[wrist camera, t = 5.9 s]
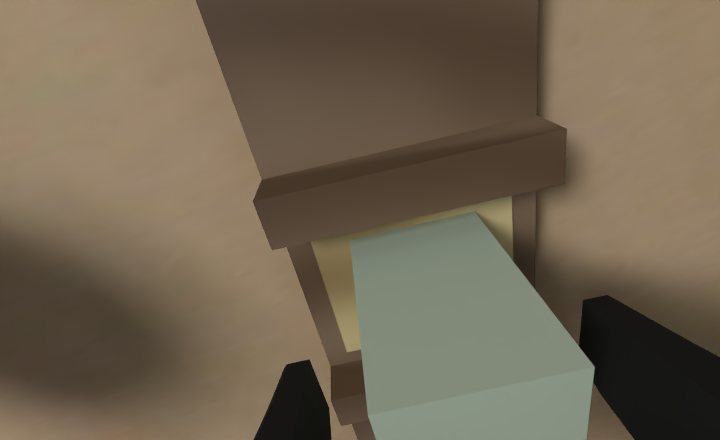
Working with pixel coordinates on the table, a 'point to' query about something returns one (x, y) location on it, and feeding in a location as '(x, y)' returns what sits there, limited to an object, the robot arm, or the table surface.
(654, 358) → the robot arm
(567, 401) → the sage block
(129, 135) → the table surface
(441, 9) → the notch rail
